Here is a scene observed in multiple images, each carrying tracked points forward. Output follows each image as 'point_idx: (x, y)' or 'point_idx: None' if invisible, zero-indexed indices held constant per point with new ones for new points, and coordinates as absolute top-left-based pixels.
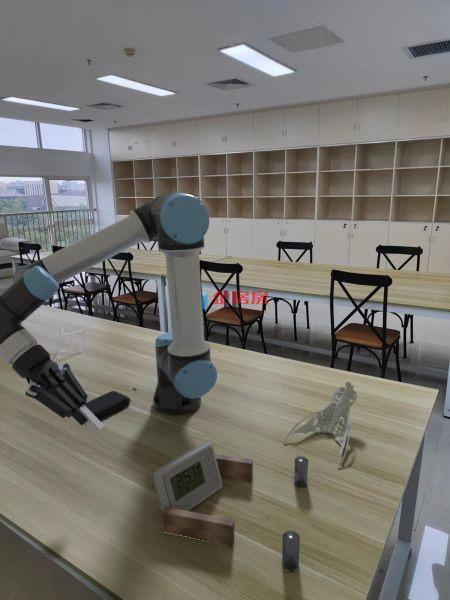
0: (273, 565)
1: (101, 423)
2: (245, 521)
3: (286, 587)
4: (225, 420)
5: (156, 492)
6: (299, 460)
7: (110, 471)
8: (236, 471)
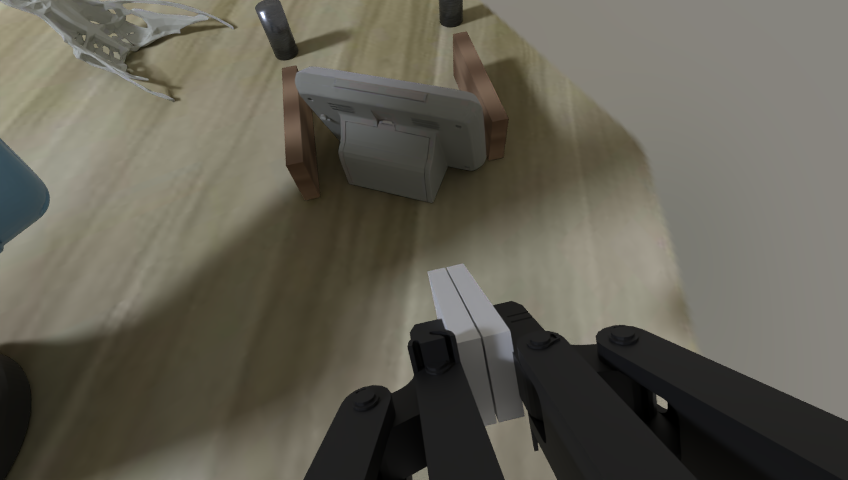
0: (463, 31)
1: (432, 276)
2: (407, 78)
3: (485, 15)
4: (72, 239)
5: (480, 137)
6: (269, 7)
7: None
8: (306, 108)
